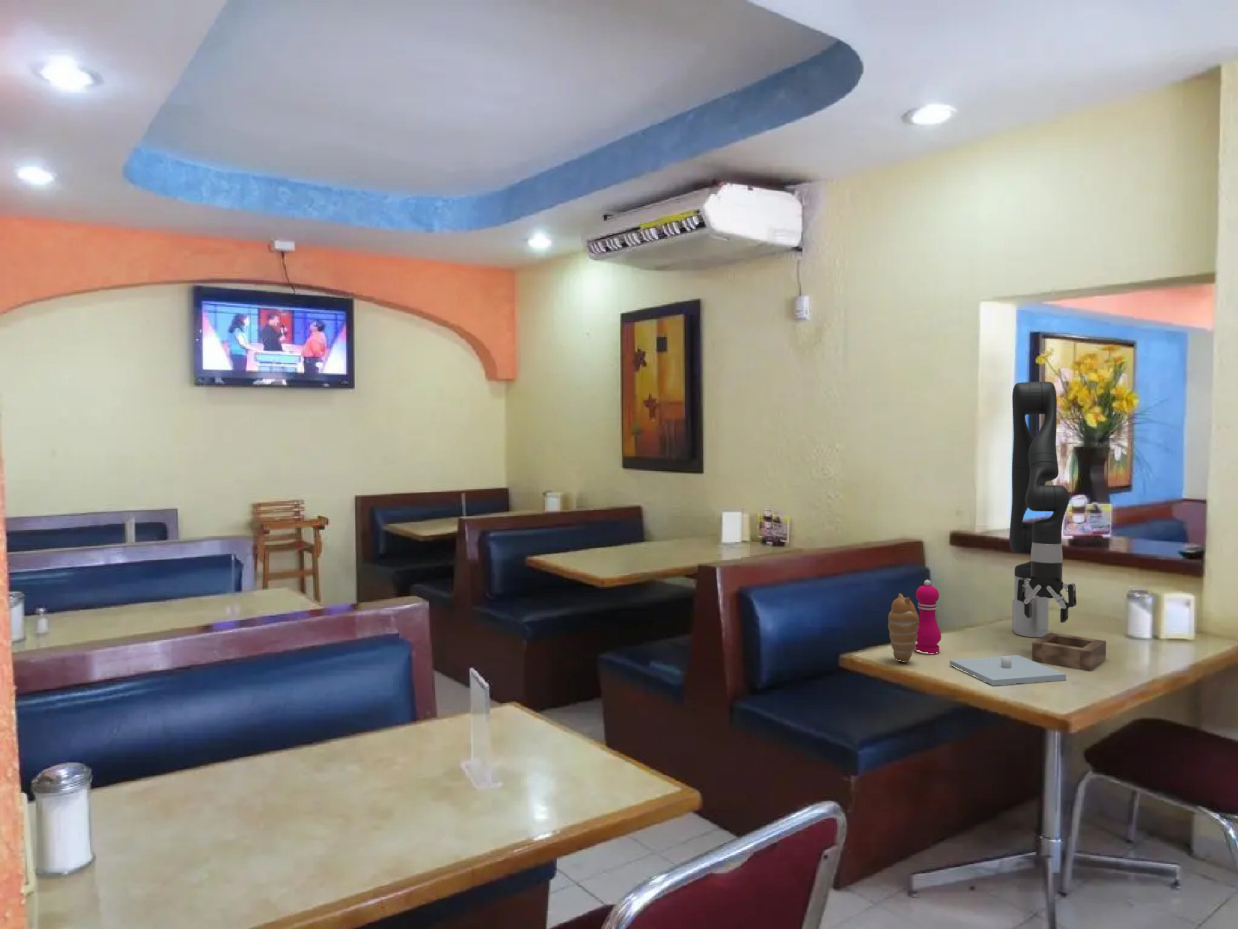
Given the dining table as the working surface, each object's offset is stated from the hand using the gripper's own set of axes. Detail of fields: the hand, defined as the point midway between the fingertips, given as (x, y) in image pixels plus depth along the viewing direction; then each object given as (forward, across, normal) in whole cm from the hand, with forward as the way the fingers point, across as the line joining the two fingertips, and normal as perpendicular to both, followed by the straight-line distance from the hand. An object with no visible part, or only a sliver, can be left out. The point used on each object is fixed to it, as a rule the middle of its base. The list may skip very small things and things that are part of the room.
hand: (1046, 619), depth 233 cm
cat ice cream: (+11, -26, -30) cm, 41 cm away
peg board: (+10, -3, -22) cm, 24 cm away
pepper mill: (+10, -26, -15) cm, 32 cm away
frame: (+10, +6, 0) cm, 12 cm away
